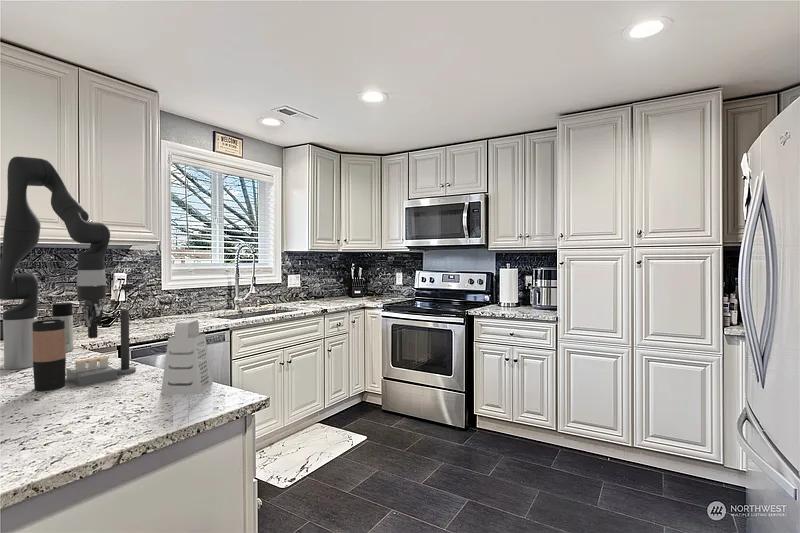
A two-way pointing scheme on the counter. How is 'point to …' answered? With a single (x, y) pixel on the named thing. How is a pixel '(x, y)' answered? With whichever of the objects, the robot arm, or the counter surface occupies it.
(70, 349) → the spray can
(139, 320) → the counter surface
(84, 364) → the breaker paddles
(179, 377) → the grater
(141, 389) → the counter surface
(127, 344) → the stand
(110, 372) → the breaker panel
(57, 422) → the counter surface
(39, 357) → the travel mug
